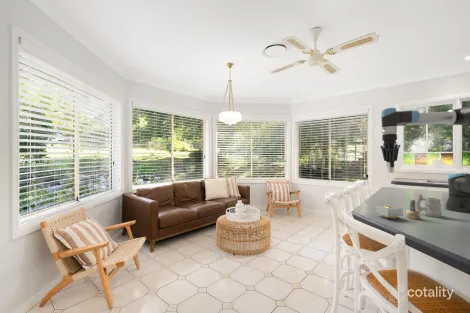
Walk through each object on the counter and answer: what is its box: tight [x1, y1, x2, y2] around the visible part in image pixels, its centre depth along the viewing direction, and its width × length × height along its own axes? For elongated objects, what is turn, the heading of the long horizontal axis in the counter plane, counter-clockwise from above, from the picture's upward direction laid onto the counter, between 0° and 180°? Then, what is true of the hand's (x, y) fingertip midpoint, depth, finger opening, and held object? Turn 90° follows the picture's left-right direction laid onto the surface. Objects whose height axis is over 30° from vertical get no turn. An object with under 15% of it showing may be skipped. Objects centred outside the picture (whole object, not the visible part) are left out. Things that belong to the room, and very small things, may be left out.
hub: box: [381, 207, 398, 220], centre depth 132 cm, size 7×7×6 cm
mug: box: [415, 193, 443, 218], centre depth 136 cm, size 8×12×12 cm, turn 44°
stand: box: [405, 199, 421, 220], centre depth 130 cm, size 6×6×10 cm
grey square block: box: [375, 204, 404, 217], centre depth 132 cm, size 9×9×4 cm
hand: (390, 172), depth 140 cm, fingers closed
